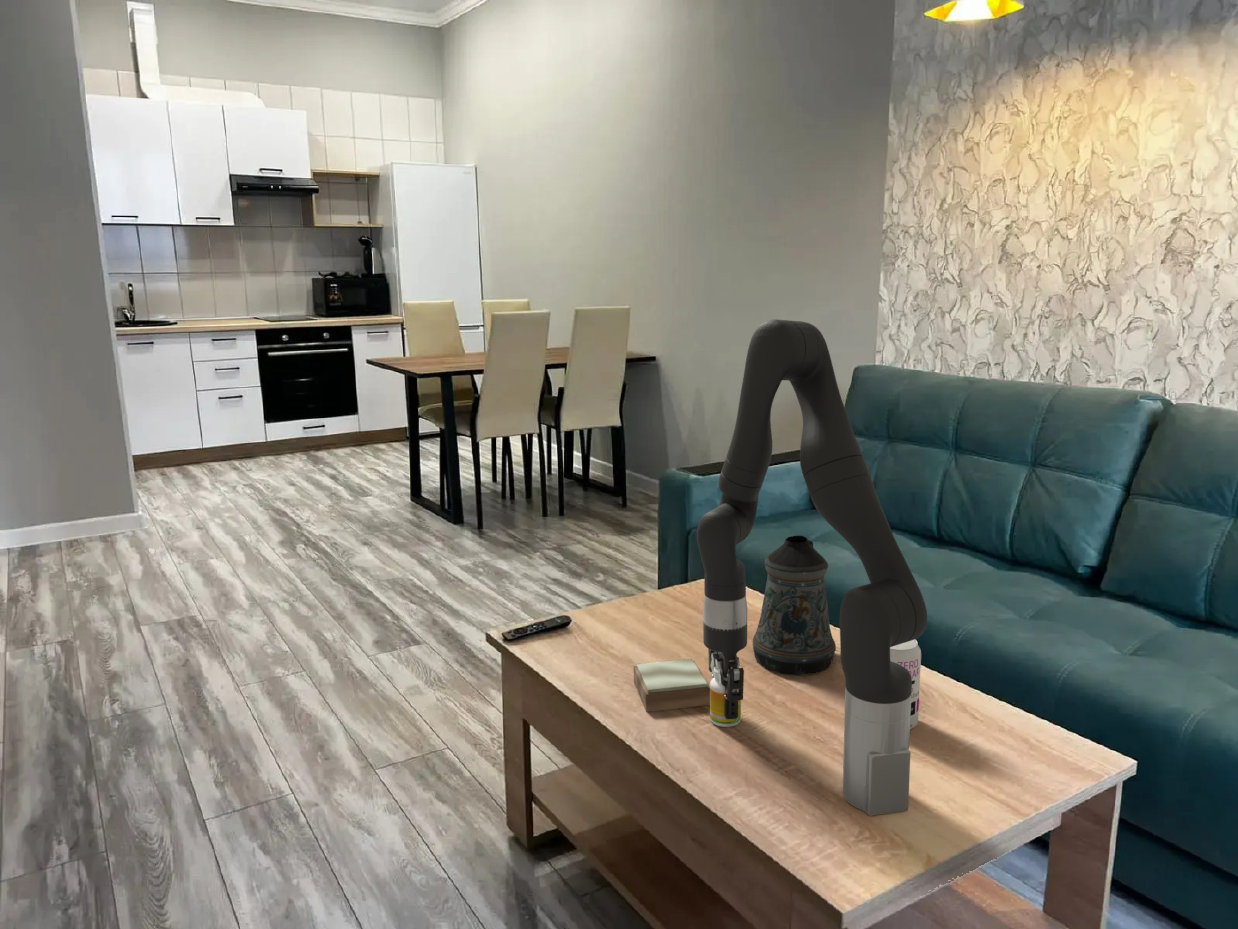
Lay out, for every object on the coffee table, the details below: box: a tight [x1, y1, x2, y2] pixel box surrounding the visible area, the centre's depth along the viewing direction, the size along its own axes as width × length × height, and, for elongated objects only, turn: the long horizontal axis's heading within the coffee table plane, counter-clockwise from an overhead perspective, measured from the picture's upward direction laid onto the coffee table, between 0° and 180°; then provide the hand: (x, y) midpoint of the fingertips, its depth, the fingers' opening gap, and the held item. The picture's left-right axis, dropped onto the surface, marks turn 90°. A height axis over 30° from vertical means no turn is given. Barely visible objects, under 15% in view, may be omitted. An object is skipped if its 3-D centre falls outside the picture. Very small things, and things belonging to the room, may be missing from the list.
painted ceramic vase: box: [752, 535, 837, 677], centre depth 177 cm, size 16×19×25 cm
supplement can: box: [890, 639, 922, 731], centre depth 151 cm, size 8×8×15 cm
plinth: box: [633, 658, 710, 713], centre depth 165 cm, size 12×12×4 cm
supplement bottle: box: [709, 667, 742, 728], centre depth 153 cm, size 5×5×10 cm
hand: (725, 708), depth 154 cm, fingers open, 6 cm apart
